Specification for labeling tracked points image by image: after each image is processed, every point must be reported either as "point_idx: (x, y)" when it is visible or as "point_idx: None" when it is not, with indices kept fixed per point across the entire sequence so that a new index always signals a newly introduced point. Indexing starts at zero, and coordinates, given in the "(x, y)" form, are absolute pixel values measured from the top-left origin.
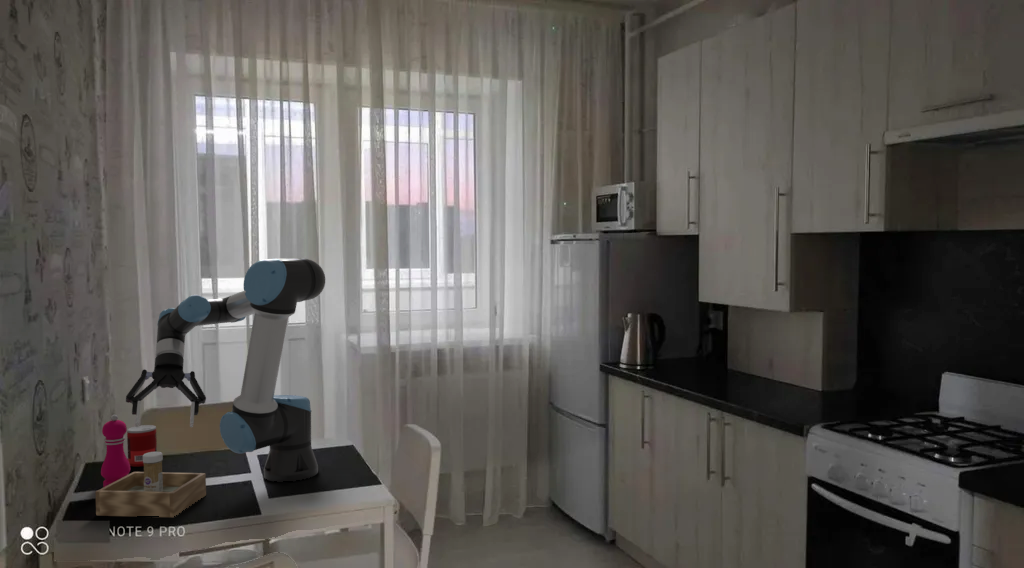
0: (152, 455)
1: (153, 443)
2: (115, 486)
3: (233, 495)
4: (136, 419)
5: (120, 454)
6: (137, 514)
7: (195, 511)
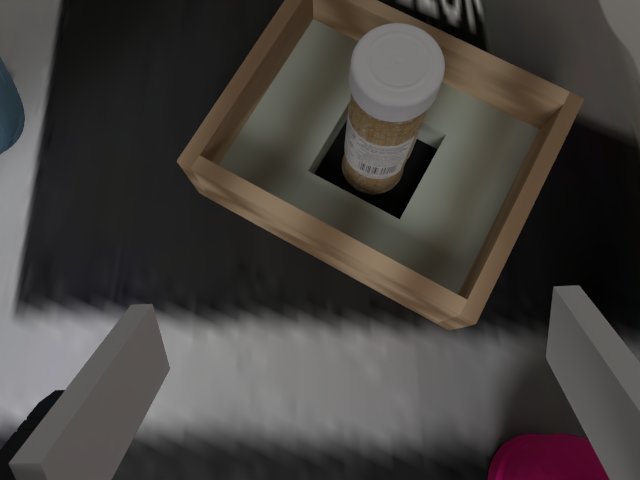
0: (397, 27)
1: None
2: (523, 180)
3: (112, 152)
4: (587, 303)
5: None
6: None
7: (245, 50)
